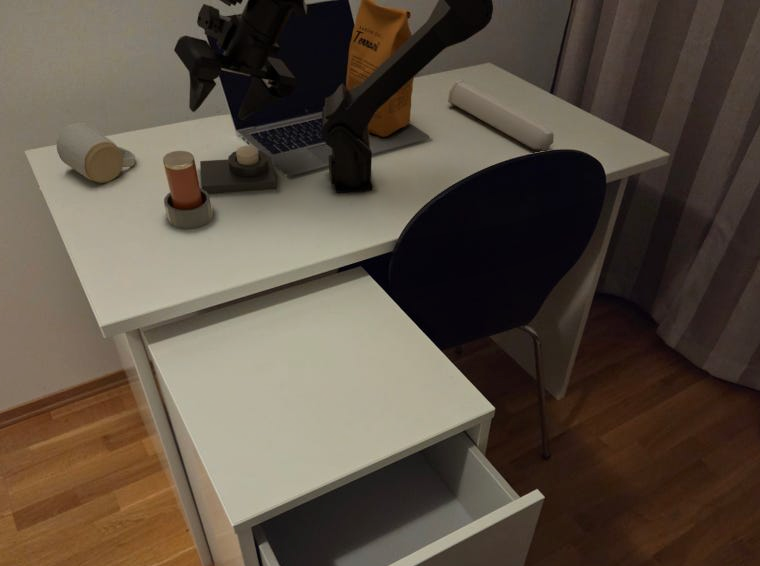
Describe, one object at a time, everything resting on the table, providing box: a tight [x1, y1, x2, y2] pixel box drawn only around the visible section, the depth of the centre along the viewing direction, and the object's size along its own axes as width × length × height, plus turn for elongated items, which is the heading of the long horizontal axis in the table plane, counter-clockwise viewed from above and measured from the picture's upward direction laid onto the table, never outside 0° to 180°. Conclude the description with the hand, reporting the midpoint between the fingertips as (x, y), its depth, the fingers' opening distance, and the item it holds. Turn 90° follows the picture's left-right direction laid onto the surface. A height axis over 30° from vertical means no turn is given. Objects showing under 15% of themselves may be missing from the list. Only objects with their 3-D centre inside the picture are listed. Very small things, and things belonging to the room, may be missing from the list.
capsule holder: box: [163, 188, 214, 230], centre depth 99 cm, size 7×7×4 cm
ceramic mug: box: [56, 122, 136, 184], centre depth 105 cm, size 11×8×8 cm
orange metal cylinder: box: [162, 150, 203, 210], centre depth 97 cm, size 4×4×10 cm
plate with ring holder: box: [199, 149, 277, 195], centre depth 107 cm, size 12×8×4 cm
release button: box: [235, 145, 259, 165], centre depth 107 cm, size 4×4×2 cm
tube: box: [447, 79, 555, 153], centre depth 126 cm, size 5×5×25 cm
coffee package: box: [345, 0, 415, 138], centre depth 118 cm, size 10×12×22 cm
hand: (216, 113), depth 100 cm, fingers open, 9 cm apart
